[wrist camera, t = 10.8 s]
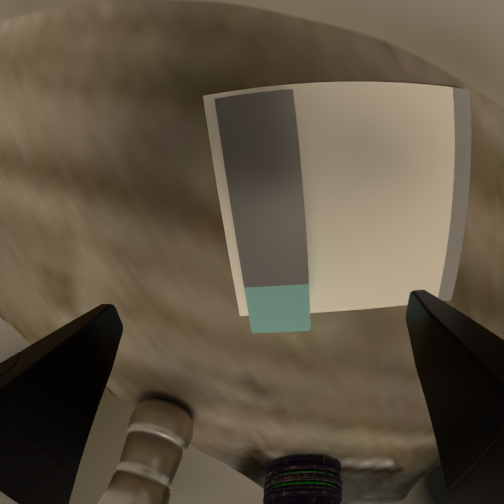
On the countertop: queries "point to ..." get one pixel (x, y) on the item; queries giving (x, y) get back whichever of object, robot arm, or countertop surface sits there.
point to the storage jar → (303, 480)
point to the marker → (267, 206)
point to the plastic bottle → (150, 454)
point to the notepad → (372, 189)
